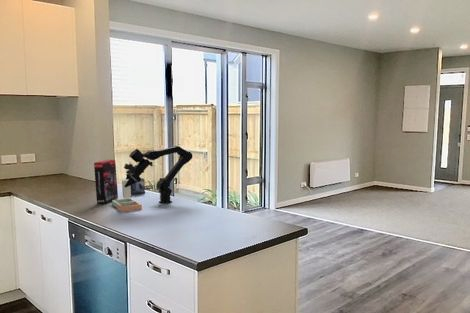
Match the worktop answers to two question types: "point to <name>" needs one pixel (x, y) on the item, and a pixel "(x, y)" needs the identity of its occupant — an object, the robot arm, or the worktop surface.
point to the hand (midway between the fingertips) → (124, 186)
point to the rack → (126, 204)
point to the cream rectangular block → (126, 189)
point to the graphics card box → (105, 181)
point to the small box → (138, 187)
